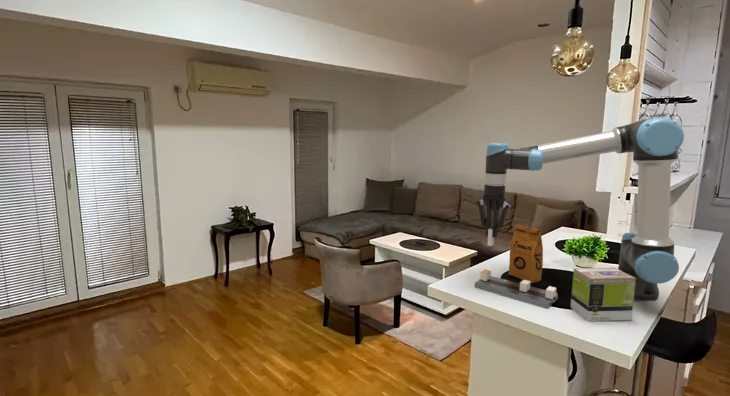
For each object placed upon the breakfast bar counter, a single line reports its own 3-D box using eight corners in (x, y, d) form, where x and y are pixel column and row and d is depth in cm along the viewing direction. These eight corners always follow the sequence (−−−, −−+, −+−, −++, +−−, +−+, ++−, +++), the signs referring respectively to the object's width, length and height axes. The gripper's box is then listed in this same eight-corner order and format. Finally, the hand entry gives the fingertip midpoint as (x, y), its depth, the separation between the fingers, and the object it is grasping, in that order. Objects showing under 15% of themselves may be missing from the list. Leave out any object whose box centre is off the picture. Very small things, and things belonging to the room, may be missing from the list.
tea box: (611, 307, 134) (616, 266, 132) (632, 321, 125) (638, 278, 122) (568, 307, 134) (573, 266, 131) (586, 321, 124) (591, 278, 121)
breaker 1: (490, 278, 153) (491, 270, 153) (486, 281, 150) (486, 273, 150) (484, 276, 155) (485, 269, 154) (480, 279, 152) (480, 271, 151)
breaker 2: (529, 288, 144) (530, 281, 143) (526, 292, 141) (526, 284, 140) (523, 287, 145) (523, 279, 145) (519, 290, 142) (520, 282, 142)
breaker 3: (555, 295, 138) (556, 287, 137) (552, 299, 135) (553, 291, 134) (548, 294, 139) (549, 286, 139) (545, 297, 136) (545, 289, 136)
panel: (560, 299, 140) (560, 294, 140) (551, 309, 132) (551, 303, 132) (486, 279, 158) (486, 274, 158) (474, 287, 150) (474, 282, 150)
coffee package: (530, 285, 153) (535, 231, 149) (504, 275, 163) (508, 224, 159) (545, 280, 158) (550, 228, 154) (519, 271, 168) (523, 222, 165)
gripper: (516, 185, 144) (511, 246, 148) (482, 181, 152) (478, 239, 156) (508, 187, 138) (503, 250, 142) (474, 183, 147) (470, 243, 151)
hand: (490, 244), depth 149 cm, fingers closed
